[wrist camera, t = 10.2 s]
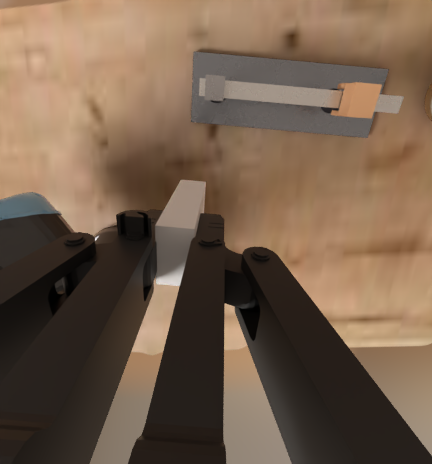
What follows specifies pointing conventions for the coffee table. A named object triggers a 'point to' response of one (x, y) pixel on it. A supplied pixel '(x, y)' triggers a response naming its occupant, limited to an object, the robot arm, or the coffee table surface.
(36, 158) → the coffee table surface
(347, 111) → the block
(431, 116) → the vase
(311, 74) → the flange plate
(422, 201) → the coffee table surface
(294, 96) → the bar
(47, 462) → the robot arm
